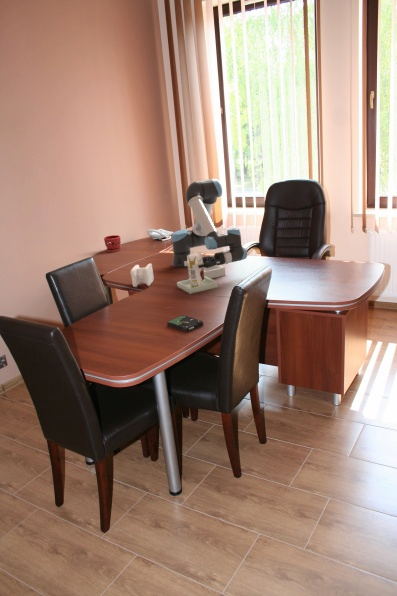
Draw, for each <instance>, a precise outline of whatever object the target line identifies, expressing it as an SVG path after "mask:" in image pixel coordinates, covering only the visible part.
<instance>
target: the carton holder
mask: <svg viewBox="0 0 397 596" xmlns="http://www.w3.org/2000/svg"><path fill="white" fill-rule="evenodd" d="M203 269H204V276H206V277H208V278H210V279H212V280H213V279H214V278H219V277H220V278H221V277H223V276H226V267H225V266H222V265H215V266H212V267H209V268H203Z"/></svg>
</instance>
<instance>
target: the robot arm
mask: <svg viewBox="0 0 397 596" xmlns="http://www.w3.org/2000/svg"><path fill="white" fill-rule="evenodd" d="M185 191H186V192H185V200H186V203H187V205H188V207H190V208H191V210H192V212H193V214H194V216H195V218H196V220H195V224H194V225H192V228H191V230H188V229H186V228H185V229H179V230H176V231H174V232H173V233H172V234H171V244H172V251H173V256H172V257H173V258H172V263H171V264H172V265H171V266H172V267H174V268H188V264H187V256H188V255H190V254H191V253H192V252H191V249H193V248H197V247H204V246H205V248H206V250H209V251H211V250H212V251H213V250H218V249H221V248H227V247H229V249H228V250H222V251H219V252H218V251H217V252H215V253H214V255H213V256H212V255H211V256H210V255H206V256H202V259H203V263H200V264H195V265H192V267H193V270H196V269H200V268H209V267H212V266H215V265H220V266H222V265H229V264H230V263H235V262H240V261H242V260H243V261H244V260H246V259H247V257H248V251H247V249H246V247H244V246H243V245H242V235H241V230H240V228H238V227H234V228H229V229H227V231H226V233H221V234H219V232H218V229H217V228H216V226H215V224H214V222H213V220H212V218H211V215H212V211H213V207H214V204H215V203H216V202H217V200H218V198H220V197H222V196H223V195H222V194H223V188H222V184H221V182H220V181H219V180H218V179H217V178H209V179H205V180H204V179H203V180H202V179H201V180H196V181H193V182H191V183H190V184H189V185H188V187H187V189H186V190H185Z"/></svg>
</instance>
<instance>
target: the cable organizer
mask: <svg viewBox="0 0 397 596" xmlns="http://www.w3.org/2000/svg"><path fill="white" fill-rule="evenodd" d="M129 274H130V277H131V284H132V286H133V288H138V286H139V285H141V283H143V284H145V285H146V286H148V287H150V286H151V284H152V283H153V281H154V280H155V279H154V277H155V276H154V271H153V264H152V263H148V264H147V265H146V266H144V267H140V265H139V264H135V265H134V266H133V267H132V268H131V269H130V272H129Z"/></svg>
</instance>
